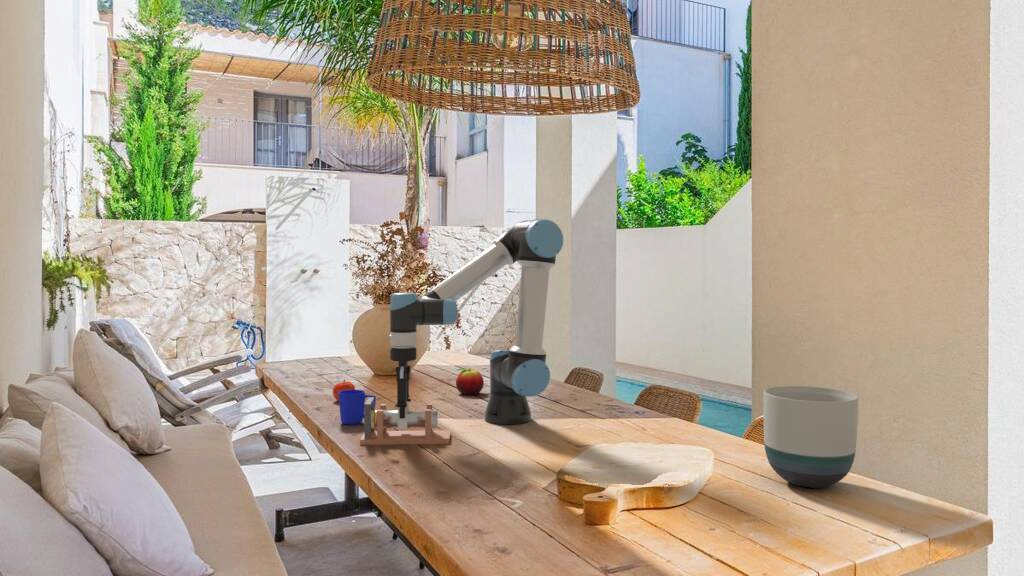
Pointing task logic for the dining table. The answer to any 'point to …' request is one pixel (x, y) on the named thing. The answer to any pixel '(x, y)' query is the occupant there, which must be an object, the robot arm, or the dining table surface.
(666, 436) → the dining table surface
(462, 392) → the fruit
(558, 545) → the dining table surface
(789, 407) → the planter
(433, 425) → the tube
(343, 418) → the mug
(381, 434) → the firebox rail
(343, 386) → the apple
